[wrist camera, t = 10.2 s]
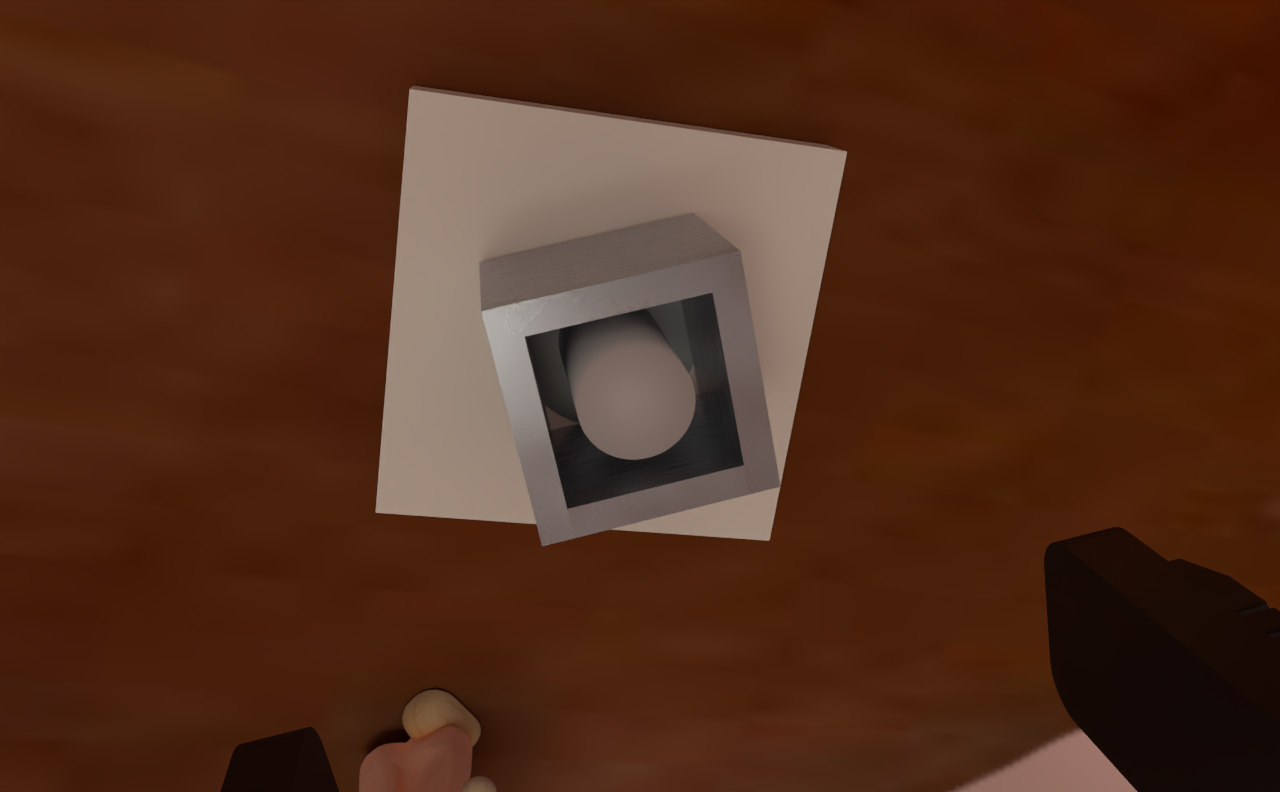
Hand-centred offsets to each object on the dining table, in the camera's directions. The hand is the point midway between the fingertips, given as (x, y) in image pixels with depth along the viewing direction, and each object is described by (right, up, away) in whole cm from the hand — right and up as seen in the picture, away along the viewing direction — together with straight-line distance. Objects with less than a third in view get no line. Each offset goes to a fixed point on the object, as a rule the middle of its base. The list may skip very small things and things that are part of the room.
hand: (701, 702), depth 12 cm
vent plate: (-2, +6, +21) cm, 22 cm away
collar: (-2, +5, +19) cm, 20 cm away
